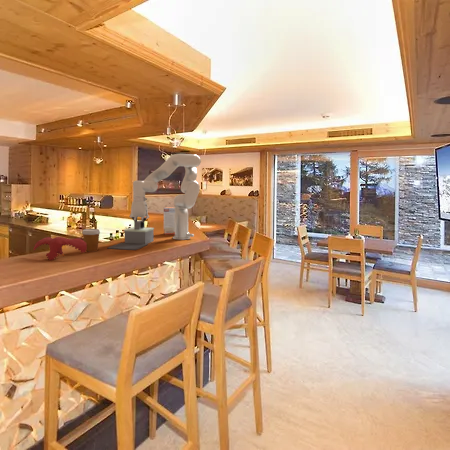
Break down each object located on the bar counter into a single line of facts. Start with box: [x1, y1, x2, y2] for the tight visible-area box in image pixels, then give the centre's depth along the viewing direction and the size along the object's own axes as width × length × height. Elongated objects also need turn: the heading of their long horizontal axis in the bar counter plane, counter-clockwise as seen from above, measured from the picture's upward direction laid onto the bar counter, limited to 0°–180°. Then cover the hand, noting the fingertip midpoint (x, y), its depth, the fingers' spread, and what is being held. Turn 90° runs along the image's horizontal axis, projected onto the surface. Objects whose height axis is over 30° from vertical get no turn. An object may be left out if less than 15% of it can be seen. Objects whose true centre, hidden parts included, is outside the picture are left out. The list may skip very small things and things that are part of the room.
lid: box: [123, 220, 155, 232], centre depth 218 cm, size 15×15×7 cm
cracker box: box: [163, 206, 175, 236], centre depth 257 cm, size 14×6×21 cm, turn 84°
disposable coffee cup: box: [81, 228, 101, 253], centre depth 188 cm, size 10×10×12 cm
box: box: [124, 230, 154, 245], centre depth 219 cm, size 14×14×8 cm
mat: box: [106, 242, 149, 251], centre depth 203 cm, size 18×18×1 cm
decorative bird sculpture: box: [32, 236, 87, 261], centre depth 169 cm, size 28×9×15 cm
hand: (139, 227), depth 219 cm, fingers closed on lid, 3 cm apart
